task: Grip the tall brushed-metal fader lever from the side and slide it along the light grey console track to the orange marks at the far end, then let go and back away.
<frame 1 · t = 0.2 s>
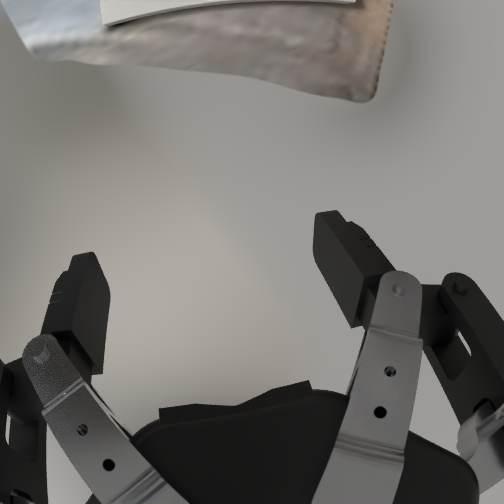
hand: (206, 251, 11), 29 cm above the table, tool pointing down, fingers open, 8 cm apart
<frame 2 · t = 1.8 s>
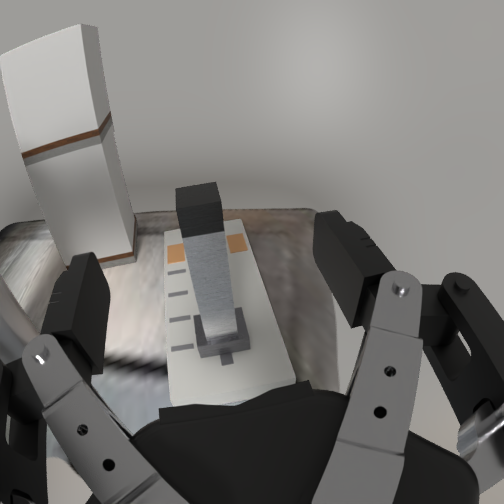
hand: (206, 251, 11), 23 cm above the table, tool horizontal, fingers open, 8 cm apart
fader: (211, 280, 27), point 11 cm above the table, slide at 0.0 cm
console: (215, 302, 40), on the table
display case: (105, 249, 51), on the table
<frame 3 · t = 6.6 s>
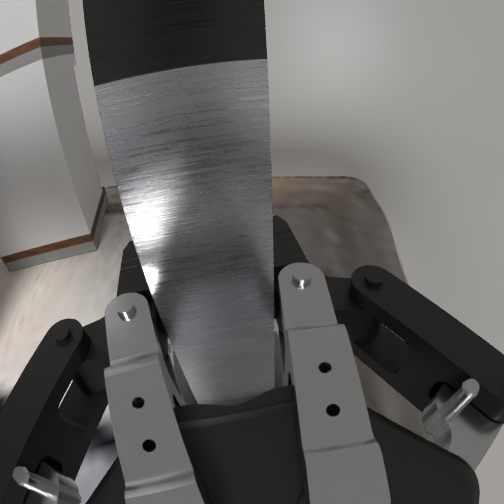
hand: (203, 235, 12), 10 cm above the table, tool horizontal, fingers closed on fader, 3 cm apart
fader: (210, 271, 9), point 11 cm above the table, slide at 0.0 cm, touching gripper
display case: (60, 234, 33), on the table
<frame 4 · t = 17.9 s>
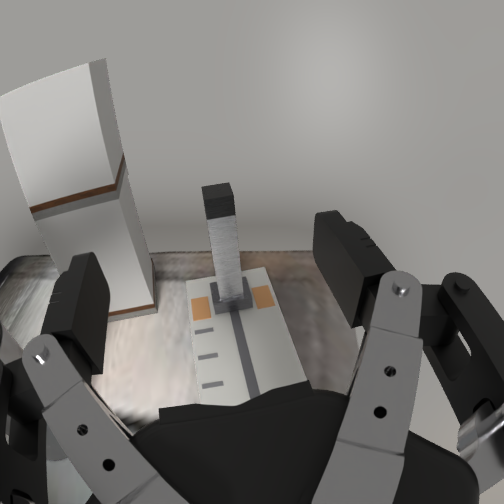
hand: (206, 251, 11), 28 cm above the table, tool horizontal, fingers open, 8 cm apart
fader: (224, 252, 38), point 11 cm above the table, slide at 16.0 cm
console: (245, 361, 39), on the table
display case: (123, 296, 49), on the table
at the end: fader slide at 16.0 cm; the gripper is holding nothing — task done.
